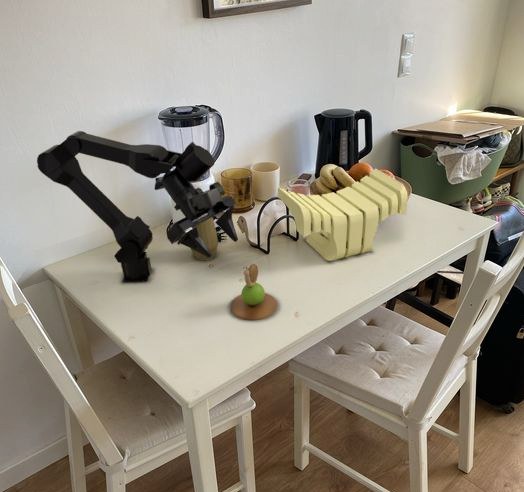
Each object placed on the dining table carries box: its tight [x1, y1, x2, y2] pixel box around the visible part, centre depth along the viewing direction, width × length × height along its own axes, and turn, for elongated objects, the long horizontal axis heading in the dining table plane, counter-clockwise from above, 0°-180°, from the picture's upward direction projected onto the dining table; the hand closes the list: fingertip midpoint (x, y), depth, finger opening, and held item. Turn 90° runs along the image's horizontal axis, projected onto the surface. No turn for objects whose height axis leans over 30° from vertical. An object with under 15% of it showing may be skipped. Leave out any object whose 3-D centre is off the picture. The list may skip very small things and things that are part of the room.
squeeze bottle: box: [190, 218, 219, 261], centre depth 139 cm, size 8×8×18 cm
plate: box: [230, 292, 278, 321], centre depth 122 cm, size 11×11×1 cm
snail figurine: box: [241, 263, 266, 305], centre depth 119 cm, size 5×6×12 cm
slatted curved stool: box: [277, 168, 409, 262], centre depth 140 cm, size 30×16×18 cm, turn 112°
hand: (224, 248), depth 119 cm, fingers open, 9 cm apart
